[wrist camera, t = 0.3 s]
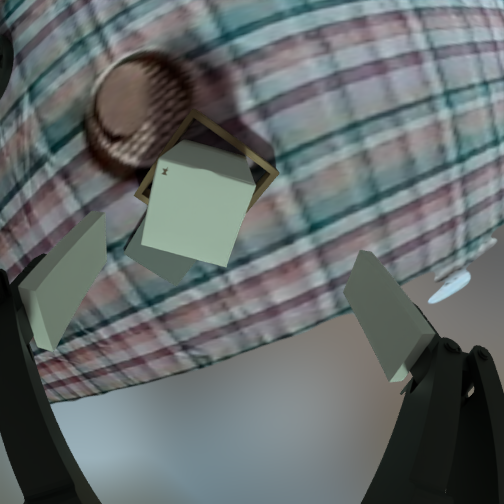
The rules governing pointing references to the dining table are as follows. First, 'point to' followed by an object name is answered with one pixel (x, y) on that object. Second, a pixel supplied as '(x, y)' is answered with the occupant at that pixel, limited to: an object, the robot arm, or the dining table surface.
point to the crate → (271, 171)
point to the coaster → (158, 259)
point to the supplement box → (198, 202)
